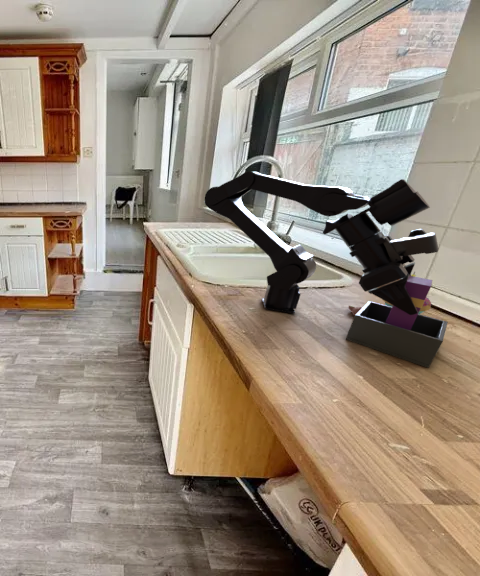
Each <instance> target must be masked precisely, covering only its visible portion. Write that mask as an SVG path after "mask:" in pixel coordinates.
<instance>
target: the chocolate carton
mask: <svg viewBox="0 0 480 576" xmlns="http://www.w3.org/2000/svg"><path fill="white" fill-rule="evenodd" d="M432 285H433V279H428V278H425V277H424V278H423V277H419V276H415V277H414V276H409V278H408V280H407V282H406V285H405V286H406V288H407V290H408V293H409V295H410V297H411V299H412V301H413V303H414V305H415V307H416V309H417V311H418V313H419V311H420V309H421V308H422V306H423V303H424V301H425V298H426V297H428V294H429V293H430V290H431V288H432ZM418 313H417V314H414V315H409V314H407V313H406V312H404V311H402V310H401V309H399V308H397V307H395V306H394V305H393V307H392V309H391V311H390V314H389V316H388V318H387V320H386V323H387V324H390V325H394V326H397V327H400V328H404V329H407V330H411V328H412V326H413V323H414V321H415V319H416V317H417V315H418Z"/></svg>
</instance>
